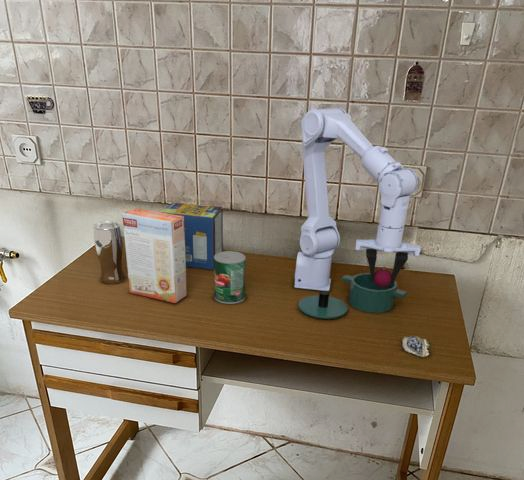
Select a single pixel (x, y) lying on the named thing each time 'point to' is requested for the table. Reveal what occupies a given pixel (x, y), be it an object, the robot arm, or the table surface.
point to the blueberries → (416, 345)
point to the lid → (322, 306)
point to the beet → (382, 277)
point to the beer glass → (109, 251)
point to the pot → (371, 294)
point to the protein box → (200, 232)
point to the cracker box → (155, 254)
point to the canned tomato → (229, 277)
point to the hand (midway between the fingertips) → (381, 280)
